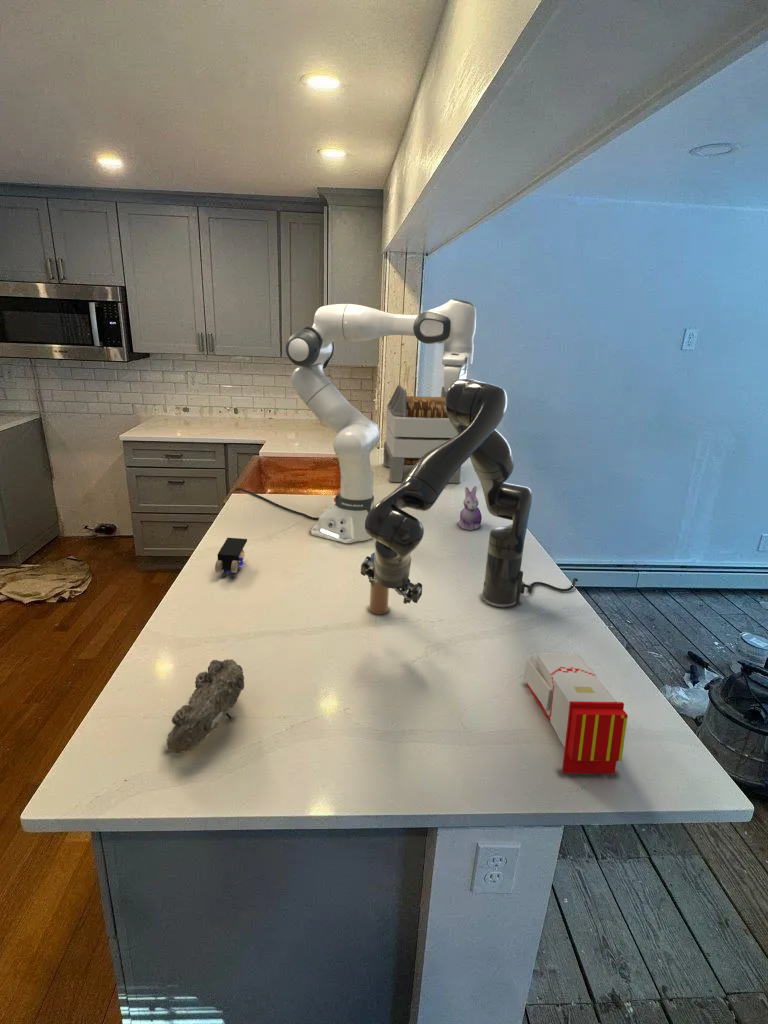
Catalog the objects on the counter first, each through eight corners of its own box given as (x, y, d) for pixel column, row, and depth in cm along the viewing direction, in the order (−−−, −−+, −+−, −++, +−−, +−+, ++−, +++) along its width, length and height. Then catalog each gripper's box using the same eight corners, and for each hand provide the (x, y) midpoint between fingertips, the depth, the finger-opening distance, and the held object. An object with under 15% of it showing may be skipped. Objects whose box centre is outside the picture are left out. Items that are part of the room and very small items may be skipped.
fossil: (192, 660, 117) (244, 628, 112) (224, 691, 120) (276, 661, 115) (142, 746, 98) (202, 712, 93) (182, 779, 101) (242, 748, 96)
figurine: (467, 532, 204) (471, 492, 198) (451, 522, 212) (455, 484, 207) (488, 528, 208) (493, 489, 203) (472, 519, 216) (476, 482, 211)
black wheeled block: (238, 584, 162) (249, 557, 175) (236, 562, 158) (247, 536, 172) (215, 584, 161) (227, 556, 175) (212, 561, 158) (225, 535, 171)
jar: (390, 612, 148) (393, 559, 143) (374, 615, 146) (376, 562, 141) (382, 603, 152) (385, 552, 147) (366, 607, 150) (368, 555, 145)
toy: (573, 635, 123) (638, 710, 94) (567, 691, 126) (628, 782, 97) (518, 633, 123) (565, 709, 93) (513, 690, 125) (557, 781, 96)
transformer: (382, 463, 289) (386, 382, 275) (445, 464, 293) (451, 384, 279) (390, 482, 257) (394, 392, 243) (460, 483, 261) (468, 394, 247)
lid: (395, 564, 144) (395, 558, 143) (376, 568, 141) (376, 561, 141) (385, 556, 148) (385, 550, 147) (366, 560, 146) (367, 553, 145)
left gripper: (453, 354, 180) (449, 398, 185) (441, 358, 161) (437, 407, 166) (473, 355, 178) (468, 399, 183) (463, 360, 160) (459, 409, 164)
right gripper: (431, 564, 116) (425, 592, 130) (371, 534, 119) (371, 563, 133) (414, 595, 113) (410, 619, 127) (352, 562, 116) (355, 590, 130)
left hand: (454, 403), depth 174 cm, fingers open, 8 cm apart
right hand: (390, 591), depth 130 cm, fingers open, 8 cm apart
